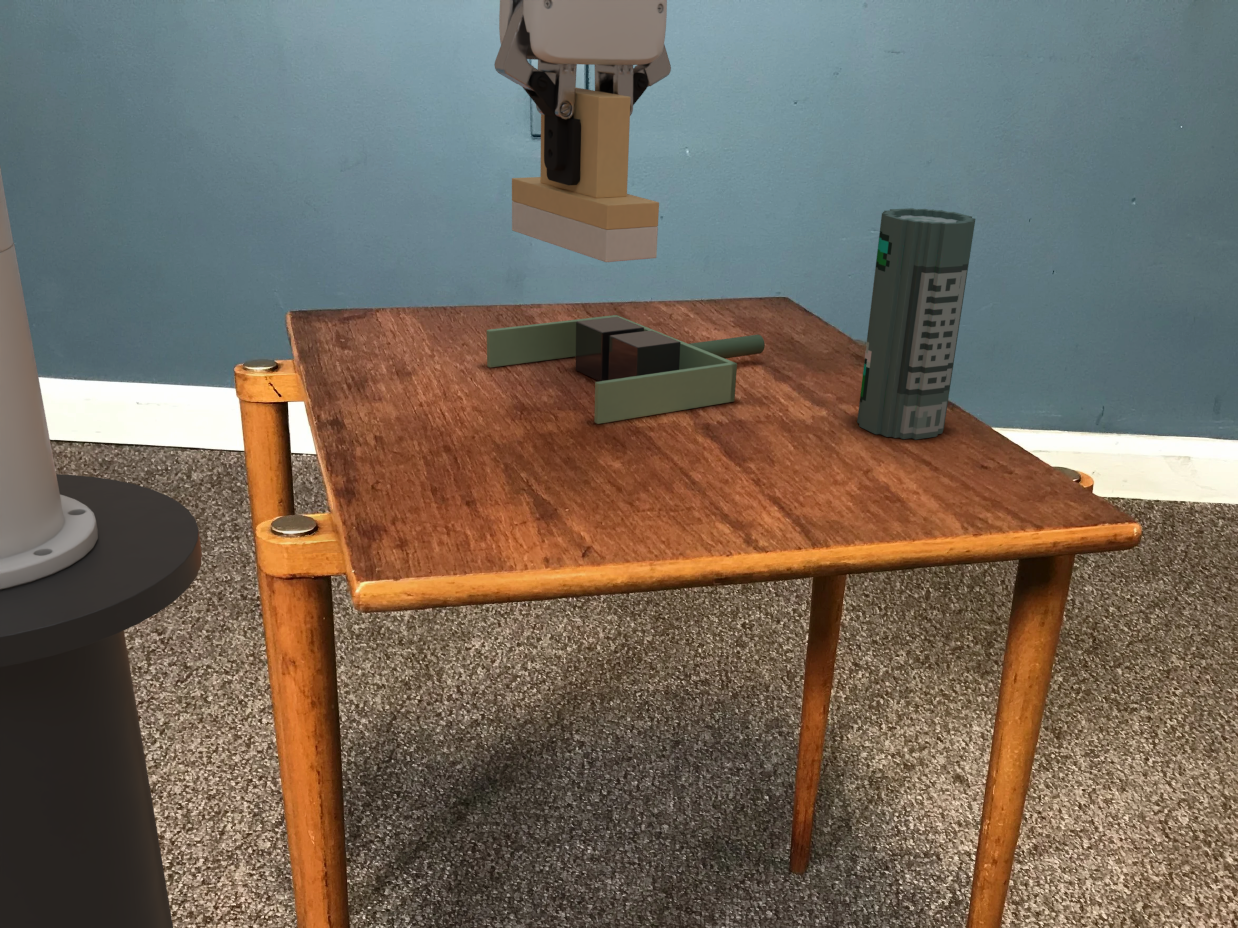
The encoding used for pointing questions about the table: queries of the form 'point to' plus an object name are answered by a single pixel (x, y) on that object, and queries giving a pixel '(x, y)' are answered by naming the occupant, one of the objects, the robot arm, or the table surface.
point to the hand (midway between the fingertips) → (583, 179)
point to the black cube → (642, 354)
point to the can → (914, 321)
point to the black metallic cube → (598, 344)
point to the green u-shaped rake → (691, 386)
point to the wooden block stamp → (591, 191)
